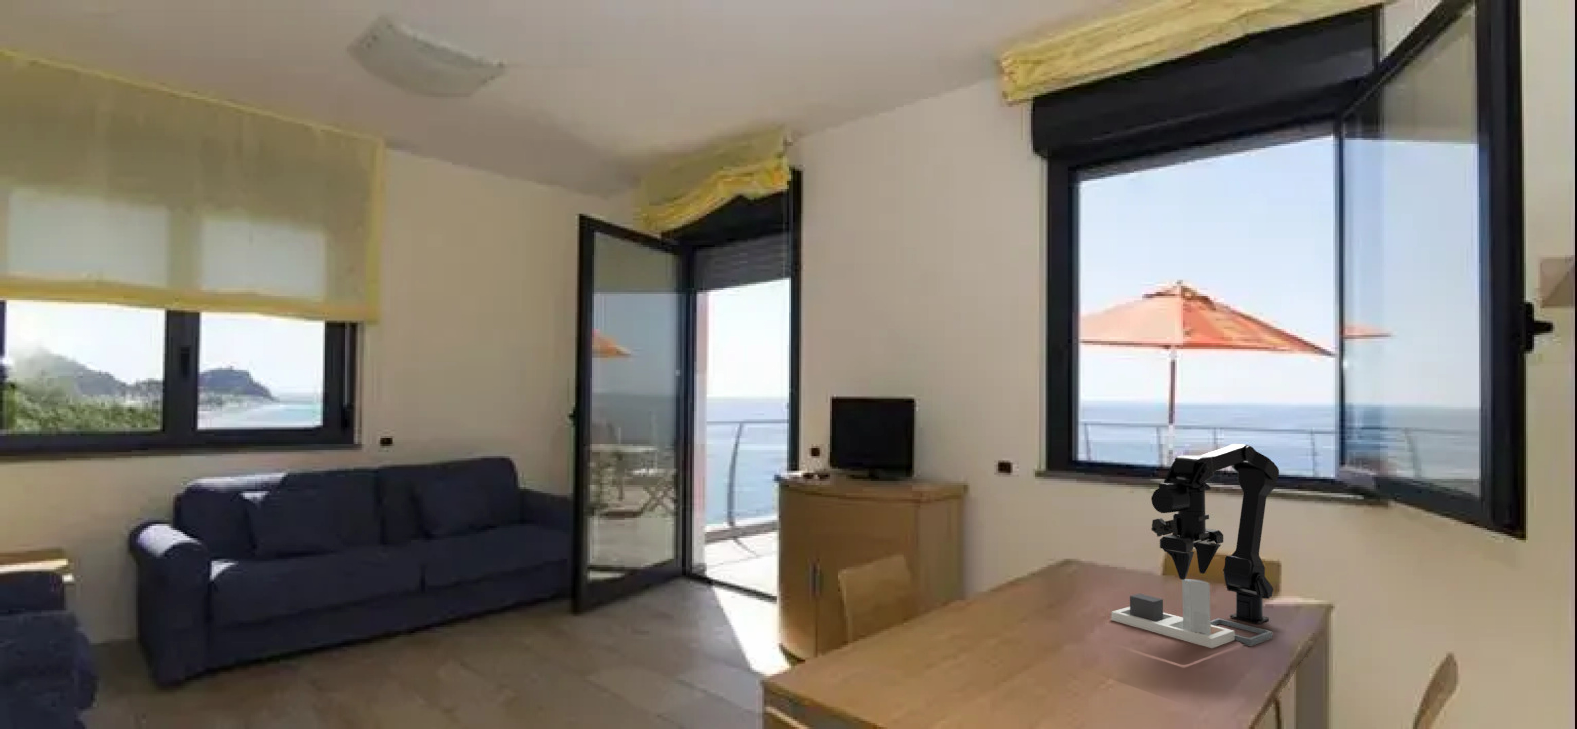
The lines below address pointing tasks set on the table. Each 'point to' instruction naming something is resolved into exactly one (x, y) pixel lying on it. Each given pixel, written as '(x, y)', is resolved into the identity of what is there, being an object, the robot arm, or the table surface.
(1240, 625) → the gray rectangular frame
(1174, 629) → the divided desk organizer
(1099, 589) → the table surface
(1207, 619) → the skincare box
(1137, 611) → the dark gray rectangular block
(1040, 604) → the table surface
